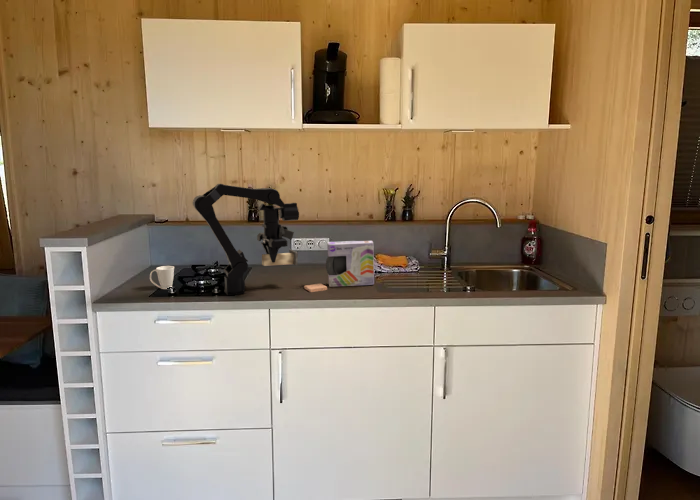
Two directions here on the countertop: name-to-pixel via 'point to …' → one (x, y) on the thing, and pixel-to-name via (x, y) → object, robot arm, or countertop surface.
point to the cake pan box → (350, 263)
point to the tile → (315, 287)
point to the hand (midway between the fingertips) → (272, 261)
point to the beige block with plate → (281, 259)
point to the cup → (164, 276)
